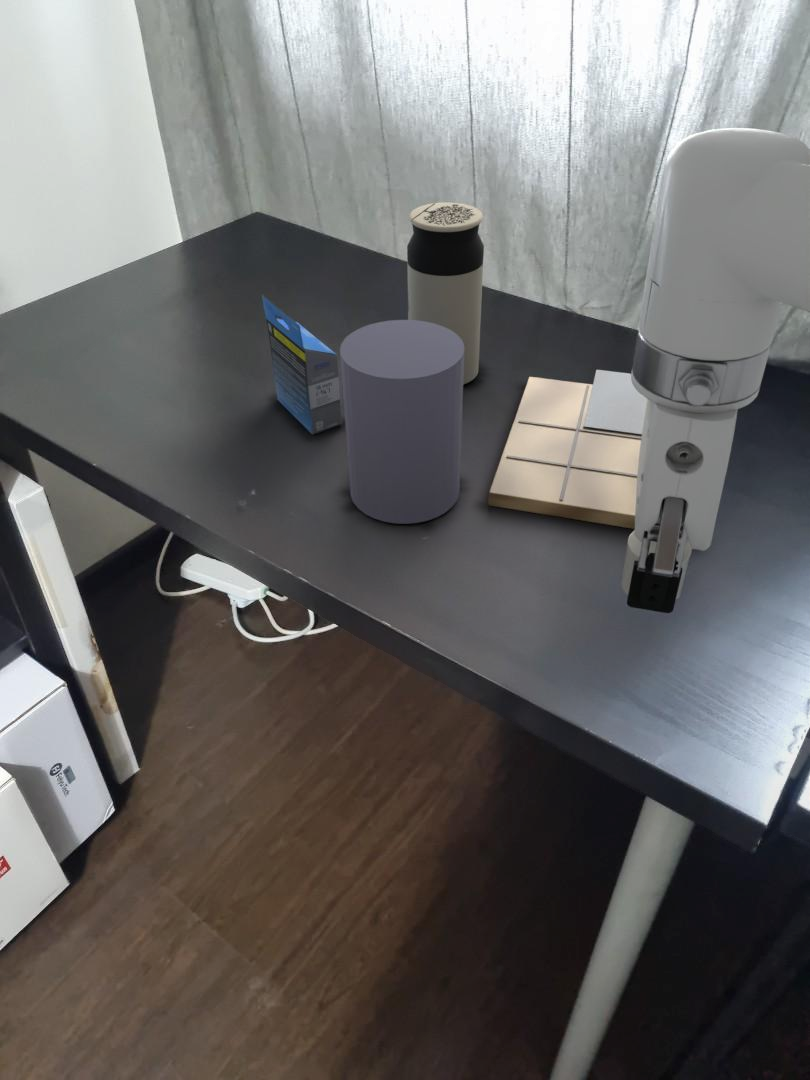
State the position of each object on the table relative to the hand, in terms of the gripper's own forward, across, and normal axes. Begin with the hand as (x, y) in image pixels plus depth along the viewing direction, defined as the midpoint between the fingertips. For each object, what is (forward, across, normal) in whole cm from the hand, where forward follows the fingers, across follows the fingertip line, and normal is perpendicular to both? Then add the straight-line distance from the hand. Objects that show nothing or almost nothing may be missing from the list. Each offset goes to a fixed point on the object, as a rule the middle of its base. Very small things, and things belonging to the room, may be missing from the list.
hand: (651, 581), depth 61 cm
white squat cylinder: (0, 0, 0) cm, 0 cm away
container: (+5, +12, +23) cm, 26 cm away
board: (+5, +25, +6) cm, 26 cm away
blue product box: (+4, +23, +37) cm, 44 cm away
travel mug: (+4, +35, +25) cm, 43 cm away
